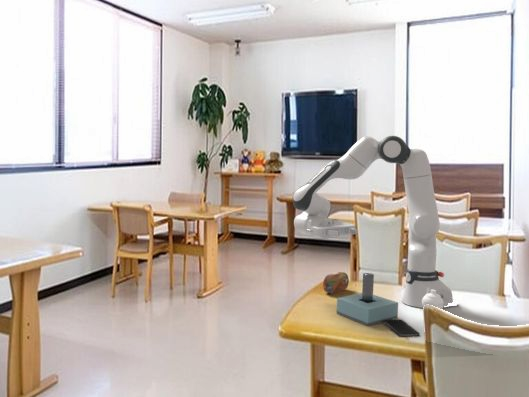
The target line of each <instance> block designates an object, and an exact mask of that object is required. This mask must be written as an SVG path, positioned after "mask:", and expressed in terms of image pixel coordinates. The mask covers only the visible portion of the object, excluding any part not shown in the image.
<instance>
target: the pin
mask: <svg viewBox="0 0 529 397" xmlns="http://www.w3.org/2000/svg"><path fill="white" fill-rule="evenodd" d="M374 280H375V274H374V273H372V272H371V273H370V272H364V273H363V274H362V286H361V288H362V290H361V291H362V292H361V293H362V301H363V302H366V303H371V302H373V295H374V285H375V283H374Z"/></svg>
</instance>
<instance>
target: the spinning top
mask: <svg viewBox="0 0 529 397" xmlns="http://www.w3.org/2000/svg"><path fill="white" fill-rule="evenodd" d="M426 304H429V305H433V306H435V307H438V308H440V309H444V308H443V306H444V301H443V299H442V298H441V296H440V295H438V294H436V290H431V293H428V294H426V295H425V296H424V297H423V299H422V305H423V307H424V305H426Z"/></svg>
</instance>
